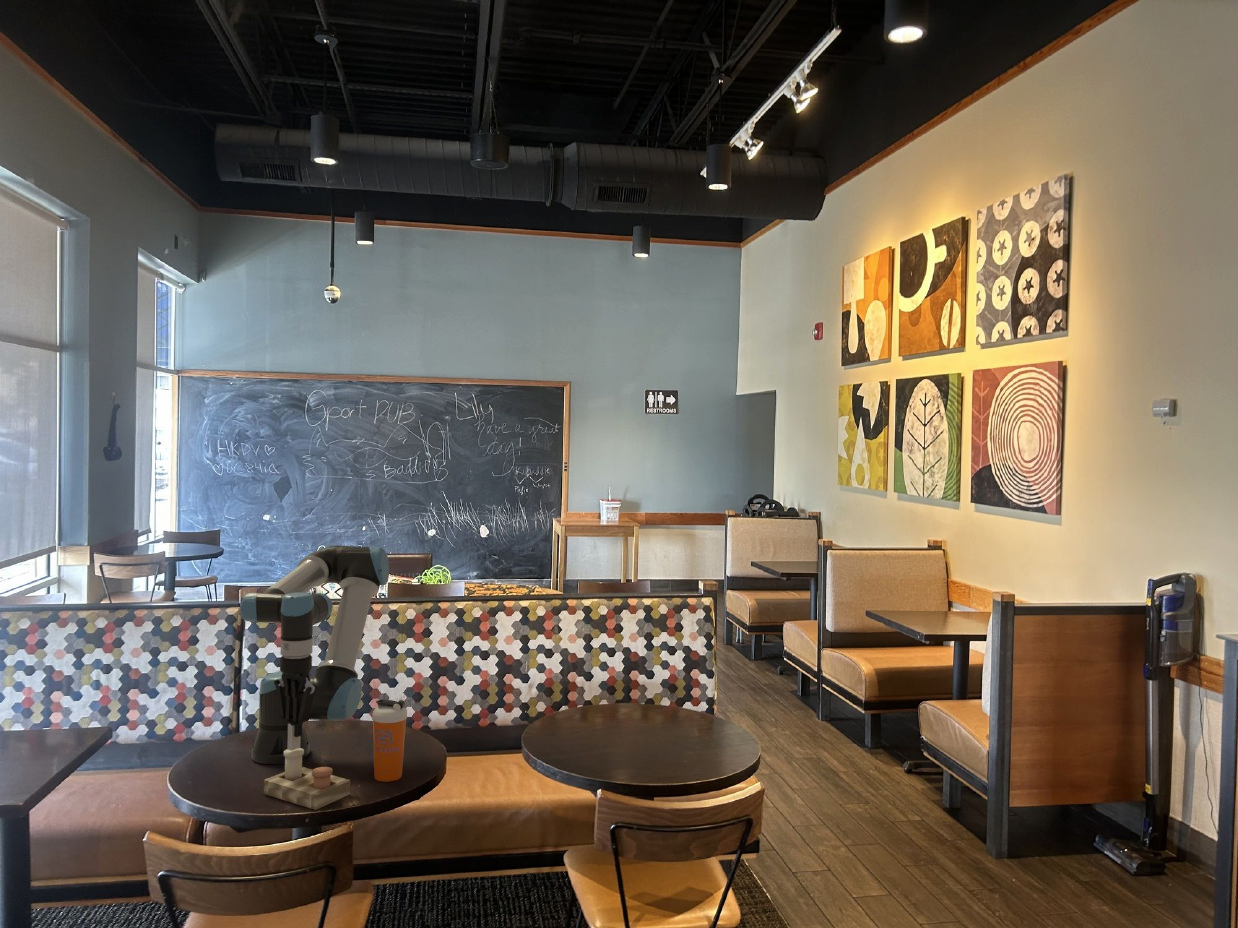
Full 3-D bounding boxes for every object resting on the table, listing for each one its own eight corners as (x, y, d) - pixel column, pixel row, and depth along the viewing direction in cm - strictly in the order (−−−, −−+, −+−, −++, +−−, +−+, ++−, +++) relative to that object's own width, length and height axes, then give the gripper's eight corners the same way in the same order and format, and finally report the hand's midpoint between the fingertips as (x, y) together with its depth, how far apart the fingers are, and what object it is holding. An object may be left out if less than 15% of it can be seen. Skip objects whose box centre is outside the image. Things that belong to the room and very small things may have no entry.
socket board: (263, 793, 211) (264, 779, 210) (299, 779, 220) (299, 765, 220) (315, 809, 202) (316, 795, 202) (350, 793, 212) (350, 780, 212)
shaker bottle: (374, 770, 228) (376, 696, 228) (408, 770, 229) (410, 696, 228) (367, 783, 219) (369, 706, 219) (402, 783, 220) (404, 706, 220)
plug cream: (278, 778, 212) (279, 751, 212) (294, 772, 217) (294, 746, 217) (292, 782, 210) (292, 755, 210) (307, 776, 215) (308, 749, 214)
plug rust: (306, 798, 208) (307, 771, 208) (322, 792, 212) (322, 765, 212) (320, 803, 206) (321, 775, 206) (335, 796, 210) (336, 769, 210)
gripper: (265, 654, 213) (263, 747, 213) (302, 661, 207) (300, 757, 207) (290, 648, 219) (287, 739, 220) (326, 655, 213) (324, 748, 214)
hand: (293, 748), depth 213 cm, fingers closed
